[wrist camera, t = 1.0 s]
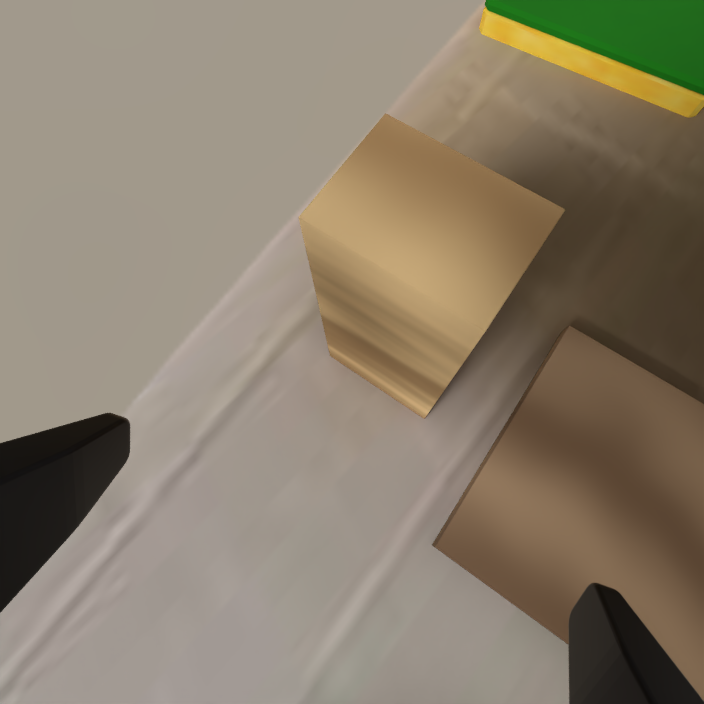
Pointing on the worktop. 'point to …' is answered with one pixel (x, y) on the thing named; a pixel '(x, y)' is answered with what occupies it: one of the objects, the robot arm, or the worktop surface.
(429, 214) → the wooden block
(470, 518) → the base board
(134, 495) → the worktop surface
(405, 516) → the worktop surface
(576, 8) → the dish sponge
